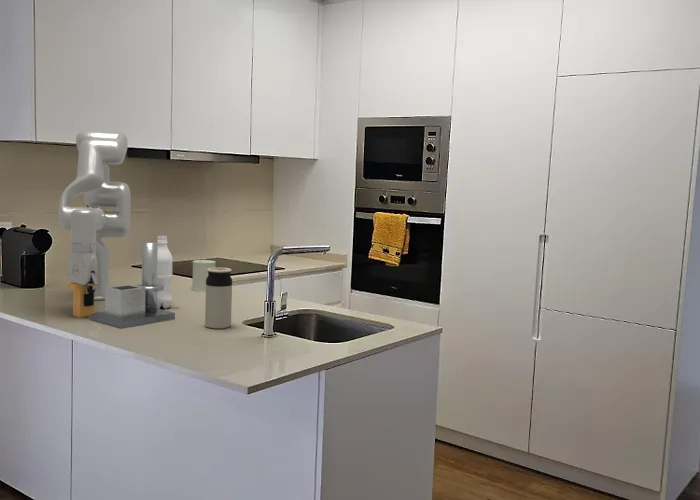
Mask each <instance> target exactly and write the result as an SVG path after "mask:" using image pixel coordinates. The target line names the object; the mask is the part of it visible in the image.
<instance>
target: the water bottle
mask: <svg viewBox="0 0 700 500" xmlns="http://www.w3.org/2000/svg"><path fill="white" fill-rule="evenodd" d="M156 243H158V253H157V284H162V285H164V290H162V291H157V309H161V307H162V308H163V310H166V309H168V308H170V307H171V306H172V303H173V296H172V288H171V287H172V286H171V285H172V277H173V256H172V253H171V251H170V250H169V247H168V243H169V242H168V236H167V235H157V241H156Z"/></svg>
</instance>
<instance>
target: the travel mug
mask: <svg viewBox="0 0 700 500" xmlns="http://www.w3.org/2000/svg"><path fill="white" fill-rule="evenodd" d="M207 271H208V277H207V279H206V292H205V304H204V305H205V309H204V310H205V311H204V312H205V313H204V315H205V316H204V318H205V319H204V325H205V327H207V328H208V329H214V330H218V329H219V330H221V329H227V328H230V327H231V326H232V300H233V299H232V298H233V295H232V294H233V278H232V276H231V272H232V268H230V267H229V268H228V267H215V268H208V269H207Z"/></svg>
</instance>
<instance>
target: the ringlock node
mask: <svg viewBox="0 0 700 500" xmlns="http://www.w3.org/2000/svg"><path fill="white" fill-rule="evenodd" d="M157 253H158V243H157V242H151V241H150V242H146V241H145V242H142V243H141V283H137V284H134V285H133V284H123V285H114V286H109V287H106V288H105V299H104V304H105V305H104V311H98V312H94V313H91V316H90V321H94V322H97V323H100V322H101V323H100V324H104V325H108V326H112V327H115V328H118V327H119V329H125V328H131V327H137V326H141V325H142V326H143V325H148V323H149V324H153V322H154V323H158V322H159V321H160V322H164V321H171V320H175V319H176V312H175V311H174V312H173V311H170V310H166V309H161V308H159V309H157V291H162V290H164V285H162V284H157ZM170 319H171V320H170Z"/></svg>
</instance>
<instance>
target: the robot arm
mask: <svg viewBox="0 0 700 500" xmlns="http://www.w3.org/2000/svg"><path fill="white" fill-rule="evenodd" d="M75 143H76V148H77V151H78V158H77V168H76V169H77V170H76V178H75V179H74V180H73V181H72V182H71V183H69V185H68V186H67V187H66V188H65V189H64V191H63V192H62V194H61V196H60V199H59V207H58V216H57V217H58V219H57V220H58V223H59V226H60V227H61V228H62V229H64V230H68V231H70V252H69V256H68V266H67V281H68V283H75V284H79V285H84V289H85V294H84V306H93V305H94V306H95V301H103V300H104V301H105V288H106V287H110V248H109V246H108V244H107V243H106V241H104V240H103V239H105V238H111V239H112V238H114V239H115V238H126V237H128V236H129V234H130V232H131V231H130V230H131V210H132V209H131V203H132V202H131V199H132V197H131V196H132V195H131V189H130V186H129V185H128V184H127V183H125V182H122V181H111V179H110V173H111V172H110V171H111V170H110V169H111V168H110V167H109V165H115V166H117V165H122V164H123V162H124V161H125V158H126V154H127V151H128V147H129V143H128V138H127V136H126V134H125V133H123V132H116V131H101V130H83V131H80V132H78V133H77V134H76V137H75ZM82 194H83V197H84V199H83V200H84V203H85V205H86V206H70V205H71V203H72V201H73V200H75V198H77V197H78V196H81V195H82ZM87 206H88V207H87ZM101 208H109V209H110V208H111V209H116V210H117V211H115V210H114V211H113V210H112V211H107V210H103V209H101ZM87 283H90V284H87ZM98 283H99V284H98ZM98 285H99V287H98ZM88 286H90V287H89V289H88Z"/></svg>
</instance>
